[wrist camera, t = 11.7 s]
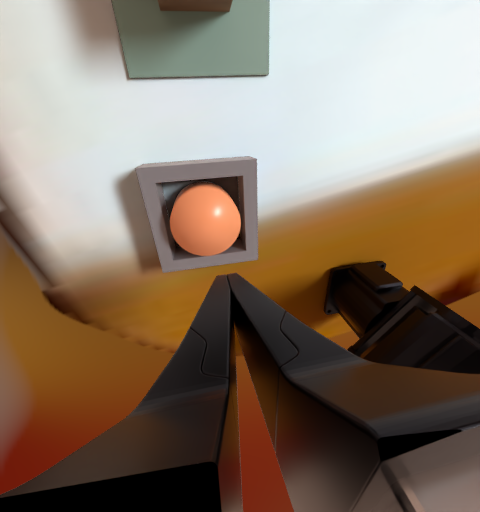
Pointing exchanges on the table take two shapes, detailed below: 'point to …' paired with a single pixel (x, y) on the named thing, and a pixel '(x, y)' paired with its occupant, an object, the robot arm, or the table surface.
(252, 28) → the board
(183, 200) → the button
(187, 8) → the block
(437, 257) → the table surface
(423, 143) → the table surface
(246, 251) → the button box
